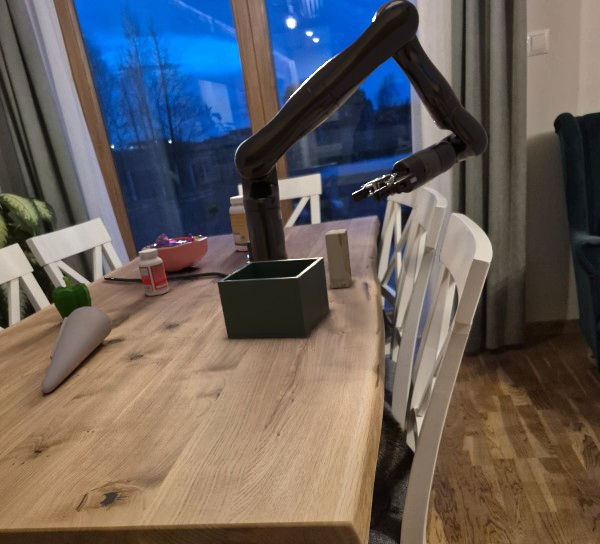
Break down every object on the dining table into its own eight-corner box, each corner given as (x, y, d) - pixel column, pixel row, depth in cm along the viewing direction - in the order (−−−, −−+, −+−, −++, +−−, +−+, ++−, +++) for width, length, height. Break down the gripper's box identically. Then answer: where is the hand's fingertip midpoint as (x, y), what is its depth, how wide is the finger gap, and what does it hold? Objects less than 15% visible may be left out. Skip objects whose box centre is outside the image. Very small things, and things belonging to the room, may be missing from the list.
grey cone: (86, 362, 92) (106, 303, 114) (30, 370, 91) (61, 309, 113) (99, 403, 96) (116, 338, 118) (46, 412, 95) (73, 345, 117)
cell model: (222, 265, 175) (215, 226, 171) (160, 280, 166) (151, 240, 161) (198, 259, 188) (191, 224, 184) (140, 273, 179) (131, 236, 174)
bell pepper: (93, 321, 134) (81, 278, 129) (57, 327, 133) (43, 284, 129) (99, 311, 141) (87, 271, 137) (64, 317, 140) (52, 276, 136)
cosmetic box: (349, 287, 131) (343, 232, 126) (330, 289, 132) (324, 234, 127) (352, 280, 137) (347, 227, 132) (334, 282, 138) (328, 229, 133)
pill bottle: (171, 288, 154) (161, 246, 150) (167, 294, 149) (157, 251, 144) (148, 291, 155) (138, 250, 150) (143, 297, 149) (132, 254, 144)
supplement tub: (257, 252, 188) (248, 197, 181) (228, 252, 194) (219, 199, 187) (278, 243, 197) (271, 191, 190) (250, 244, 203) (242, 193, 196)
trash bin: (227, 338, 109) (217, 281, 104) (258, 312, 122) (250, 261, 118) (305, 337, 104) (298, 277, 99) (329, 310, 117) (323, 257, 112)
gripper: (393, 157, 141) (341, 183, 136) (432, 150, 129) (377, 179, 124) (401, 187, 144) (351, 214, 139) (441, 184, 132) (387, 213, 127)
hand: (363, 198), depth 132 cm, fingers open, 8 cm apart
